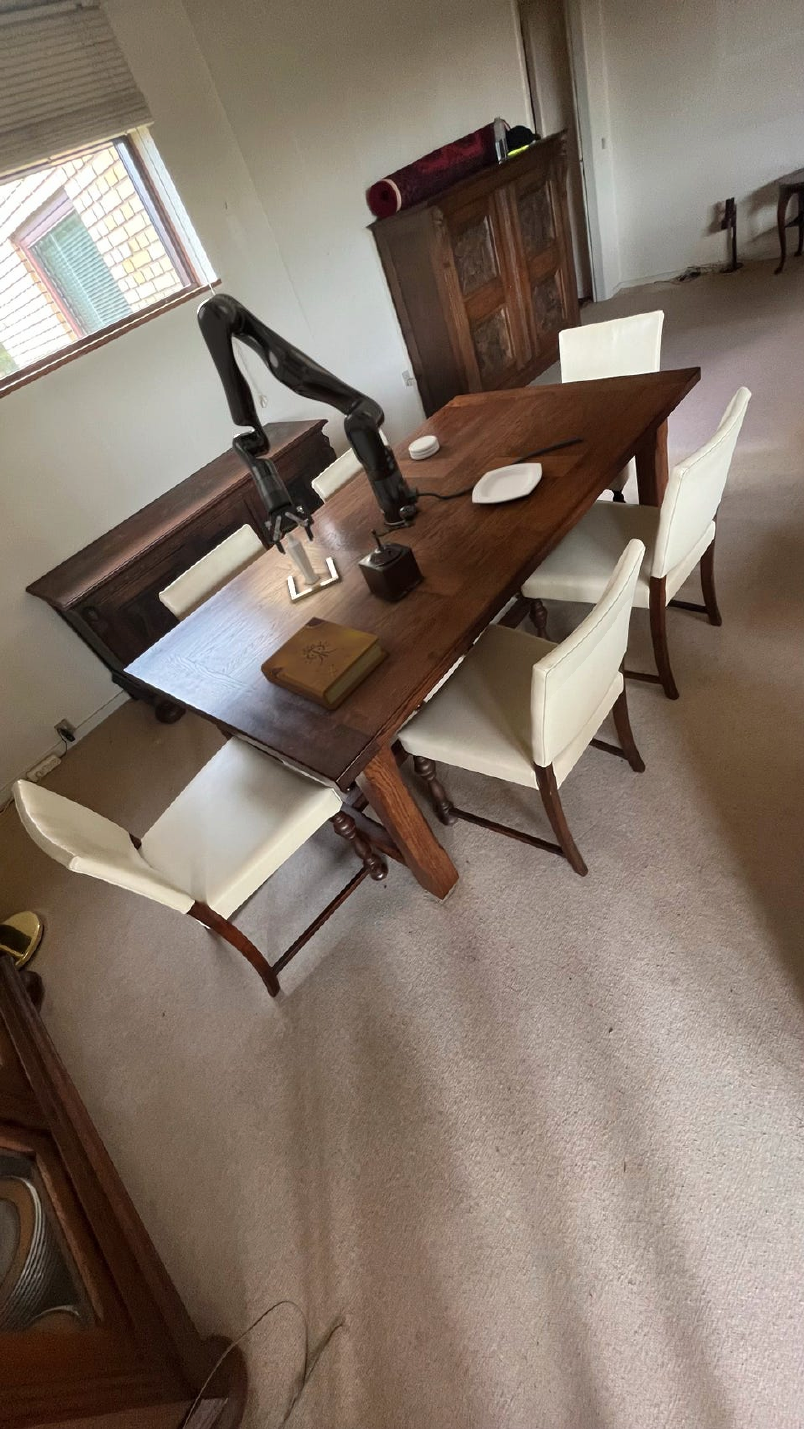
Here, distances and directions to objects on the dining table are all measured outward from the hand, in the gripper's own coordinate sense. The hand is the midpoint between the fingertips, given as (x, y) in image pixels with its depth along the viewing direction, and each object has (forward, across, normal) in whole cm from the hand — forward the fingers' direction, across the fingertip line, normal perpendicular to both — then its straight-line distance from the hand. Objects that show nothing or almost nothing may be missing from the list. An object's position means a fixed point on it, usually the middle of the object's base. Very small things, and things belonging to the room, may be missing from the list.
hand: (297, 546), depth 176 cm
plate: (+11, +60, +1) cm, 61 cm away
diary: (+41, -3, -29) cm, 50 cm away
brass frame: (+10, 0, +1) cm, 10 cm away
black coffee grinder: (+26, +23, -14) cm, 37 cm away
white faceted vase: (+10, 0, +2) cm, 10 cm away
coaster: (-24, +49, +36) cm, 65 cm away
